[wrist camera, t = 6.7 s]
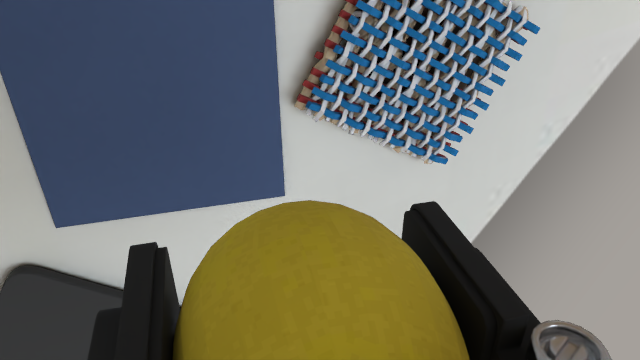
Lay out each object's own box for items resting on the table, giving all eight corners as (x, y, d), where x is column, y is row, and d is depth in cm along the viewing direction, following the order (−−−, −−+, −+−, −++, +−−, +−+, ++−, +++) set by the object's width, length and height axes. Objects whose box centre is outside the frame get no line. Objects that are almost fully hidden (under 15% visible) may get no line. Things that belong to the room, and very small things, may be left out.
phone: (12, 266, 27) (248, 333, 34) (16, 257, 28) (247, 324, 34) (-32, 356, 29) (198, 402, 36) (-27, 345, 30) (197, 392, 37)
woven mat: (378, -88, 23) (394, -87, 22) (528, 10, 28) (550, 18, 26) (284, 102, 27) (291, 116, 25) (430, 162, 31) (444, 177, 30)
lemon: (161, 151, 11) (133, 546, 4) (389, 134, 12) (639, 420, 6) (185, 325, 14) (192, 731, 7) (369, 296, 15) (522, 618, 8)
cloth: (-82, -165, 18) (-84, -165, 18) (263, -162, 21) (264, -162, 21) (56, 226, 27) (56, 228, 27) (284, 194, 30) (284, 195, 30)
